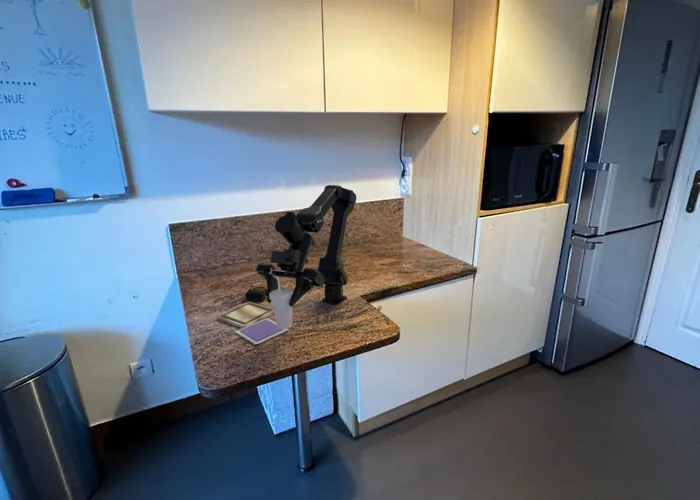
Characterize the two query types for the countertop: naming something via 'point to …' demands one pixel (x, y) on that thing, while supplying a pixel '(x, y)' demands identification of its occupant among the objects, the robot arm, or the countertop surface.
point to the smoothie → (282, 306)
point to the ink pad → (260, 331)
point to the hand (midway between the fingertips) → (279, 304)
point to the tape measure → (256, 293)
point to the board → (246, 314)
